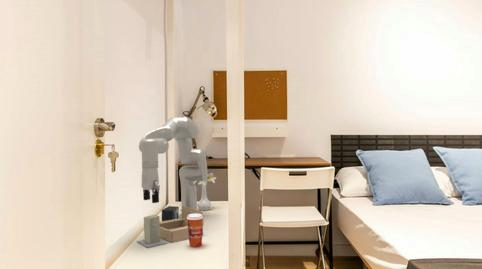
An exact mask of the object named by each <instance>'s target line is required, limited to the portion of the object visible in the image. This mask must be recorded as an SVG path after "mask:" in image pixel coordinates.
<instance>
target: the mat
mask: <svg viewBox="0 0 482 269" xmlns="http://www.w3.org/2000/svg"><path fill="white" fill-rule="evenodd" d="M136 243H137V244H139V245H141V246H142V247H144V248H146V249H150V248H154V247H159V246H163V245H167V244H168V241H166V240H164V239H162V238H160V241H158V242H154V243H151V244H148V243H145V240H144V239H142V240H137V241H136Z"/></svg>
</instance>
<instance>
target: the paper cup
mask: <svg viewBox="0 0 482 269" xmlns="http://www.w3.org/2000/svg"><path fill="white" fill-rule="evenodd" d="M187 220H188V233H189V239H188V240H189V243H188V244H189V247H191V248H200V247H202V245H203V236H202V226H203V227H204V214H203V215H202V214H189V215H188V217H187Z"/></svg>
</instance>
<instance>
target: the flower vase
mask: <svg viewBox="0 0 482 269" xmlns="http://www.w3.org/2000/svg"><path fill="white" fill-rule="evenodd" d="M216 179H217V177H216V176H214V173H213V172H211V173H208V176H207V179H206V180H205V181H193V183H194V184H195V185H196V183H197V185H199V186H200V185H201V198H200V200H198V201H197V208H198V209H199V211H202V210H203V211H202V212H204V211H205V212H206V211H209V210H210V208H211V207H212V201H210V200H209V198H208V194H207V184H208V183H210V182H212V183H213V184H215V183H216V181H215V180H216Z"/></svg>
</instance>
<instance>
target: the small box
mask: <svg viewBox="0 0 482 269" xmlns="http://www.w3.org/2000/svg"><path fill="white" fill-rule="evenodd" d="M179 213H180V210H179V206H174V205H173V206H172V205H171V206H170V205H169V206H166V207H165V208H162V209H161V222H162V221H167V220H173V219H179V218H180V217H179V215H180V214H179Z"/></svg>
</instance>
